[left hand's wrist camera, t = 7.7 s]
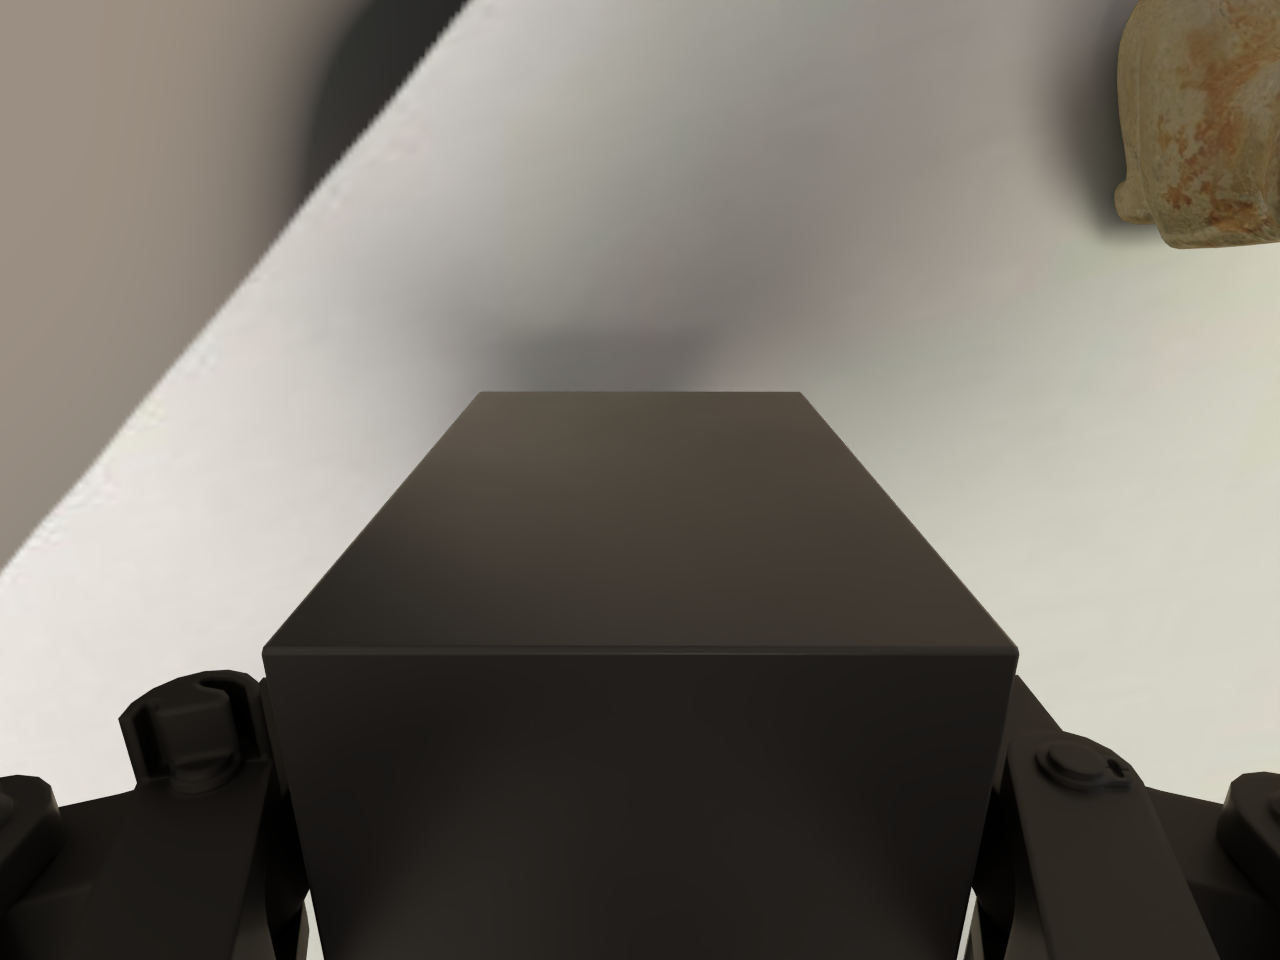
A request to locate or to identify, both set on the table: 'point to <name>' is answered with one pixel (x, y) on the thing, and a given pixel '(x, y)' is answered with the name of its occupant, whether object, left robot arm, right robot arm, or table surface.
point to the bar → (640, 697)
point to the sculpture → (1201, 121)
